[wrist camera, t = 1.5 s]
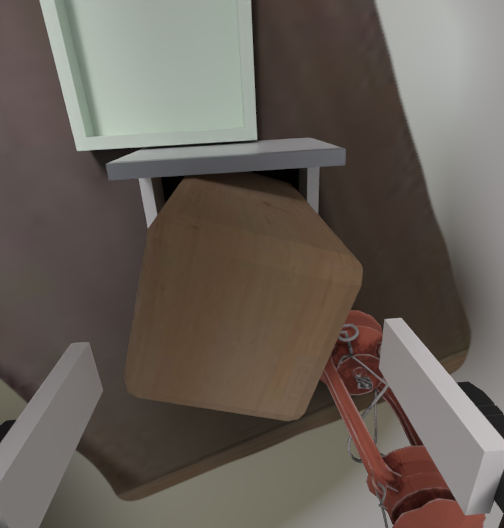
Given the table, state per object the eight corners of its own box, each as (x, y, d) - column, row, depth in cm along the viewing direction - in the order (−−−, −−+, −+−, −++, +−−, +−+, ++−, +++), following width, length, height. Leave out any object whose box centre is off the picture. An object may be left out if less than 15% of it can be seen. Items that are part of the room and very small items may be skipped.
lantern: (301, 376, 43) (427, 843, 16) (305, 306, 39) (486, 772, 11) (378, 372, 43) (632, 819, 16) (390, 302, 39) (760, 741, 12)
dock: (145, 147, 31) (105, 163, 21) (309, 137, 31) (345, 148, 22) (167, 280, 36) (144, 343, 27) (307, 270, 37) (336, 328, 27)
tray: (37, -71, 25) (17, -90, 22) (245, -80, 25) (246, -99, 23) (88, 148, 31) (77, 151, 28) (255, 137, 31) (257, 139, 29)
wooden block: (296, 183, 33) (378, 269, 15) (267, 274, 37) (304, 432, 19) (194, 155, 32) (145, 213, 13) (174, 253, 35) (115, 403, 17)
